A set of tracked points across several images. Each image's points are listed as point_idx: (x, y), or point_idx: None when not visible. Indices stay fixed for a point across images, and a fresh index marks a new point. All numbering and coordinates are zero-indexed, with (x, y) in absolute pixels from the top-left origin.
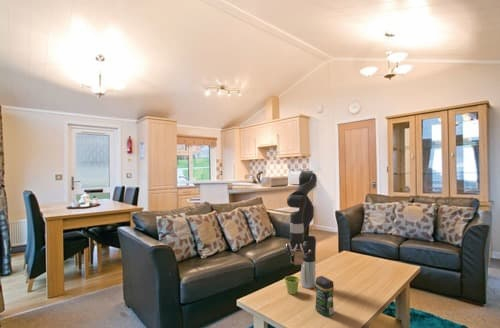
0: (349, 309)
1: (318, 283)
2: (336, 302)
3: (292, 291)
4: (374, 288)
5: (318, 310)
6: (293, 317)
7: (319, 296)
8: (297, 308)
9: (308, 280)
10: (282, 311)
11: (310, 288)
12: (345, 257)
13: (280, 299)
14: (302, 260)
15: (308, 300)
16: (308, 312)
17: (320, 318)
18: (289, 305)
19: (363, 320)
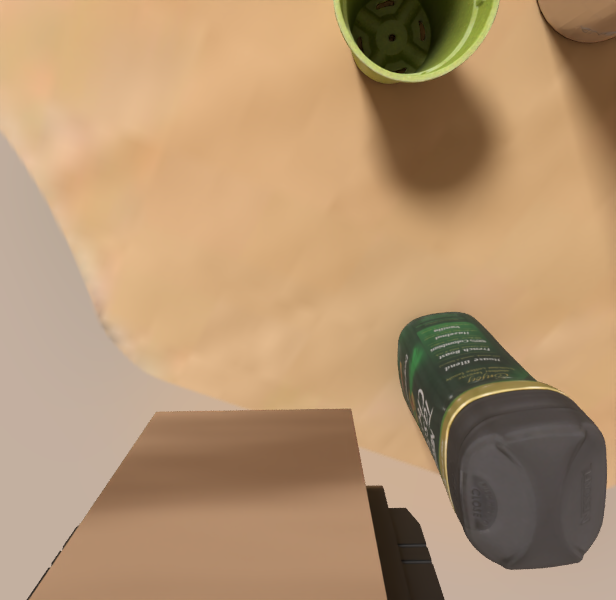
0: (594, 390)
1: (454, 481)
2: (589, 298)
3: (373, 76)
4: None
5: (399, 368)
6: (231, 346)
7: (422, 427)
8: (304, 270)
9: (603, 2)
10: (195, 267)
11: (572, 39)
12: None
13: (248, 114)
14: None
15: (433, 206)
16: (344, 333)
17: (372, 406)
18: (272, 217)
19: None
